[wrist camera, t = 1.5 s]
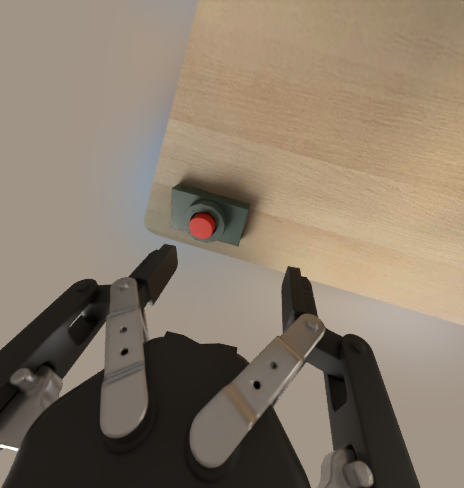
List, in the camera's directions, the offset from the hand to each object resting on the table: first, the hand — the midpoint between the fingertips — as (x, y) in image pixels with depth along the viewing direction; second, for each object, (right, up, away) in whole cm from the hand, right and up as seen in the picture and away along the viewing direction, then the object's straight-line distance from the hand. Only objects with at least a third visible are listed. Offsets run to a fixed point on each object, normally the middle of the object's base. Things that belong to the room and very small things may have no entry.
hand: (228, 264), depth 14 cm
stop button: (-4, +5, +16) cm, 17 cm away
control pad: (-3, +7, +19) cm, 20 cm away
